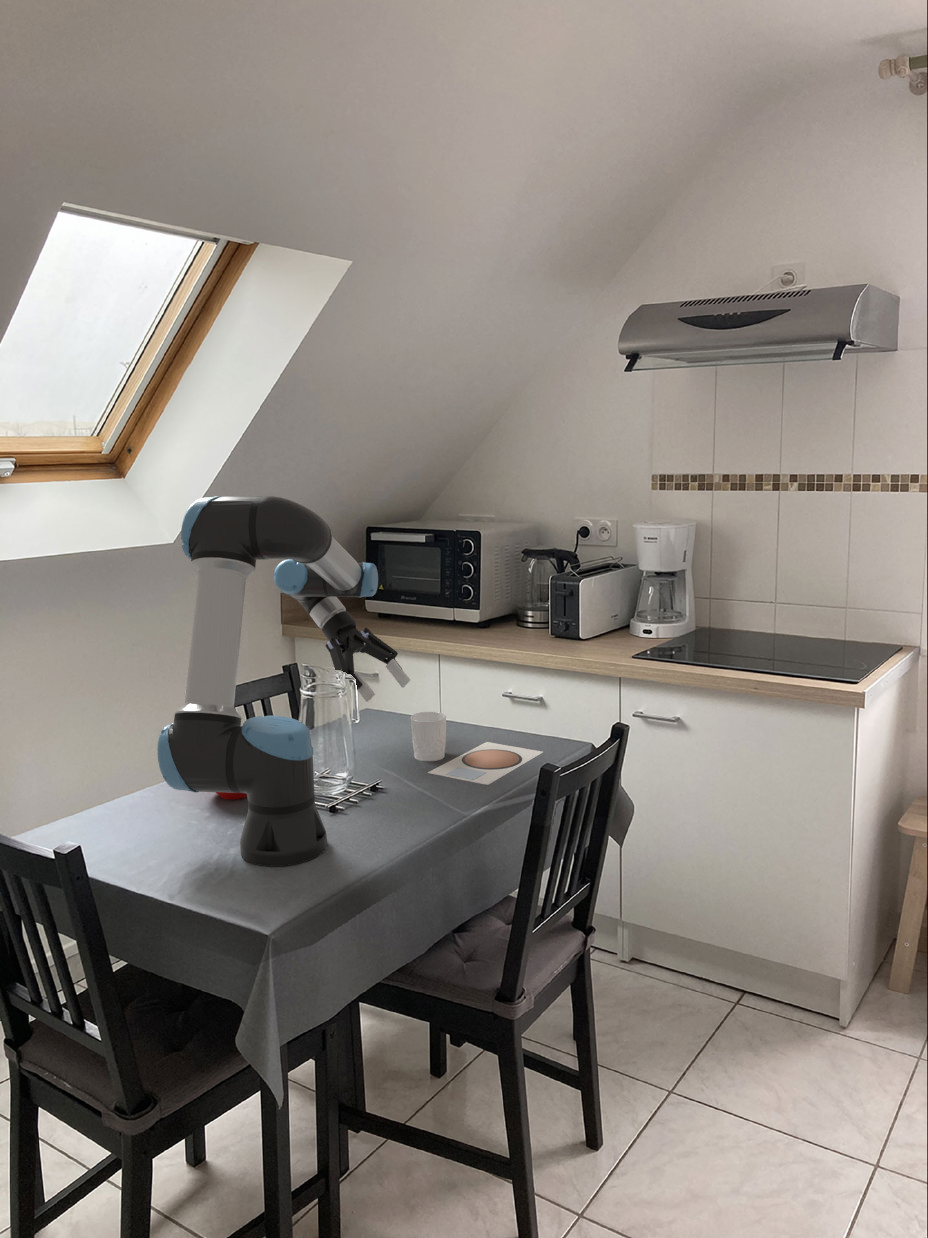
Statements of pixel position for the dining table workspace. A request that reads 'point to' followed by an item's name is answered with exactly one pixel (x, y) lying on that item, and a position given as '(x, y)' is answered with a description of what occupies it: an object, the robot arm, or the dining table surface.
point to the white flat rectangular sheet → (482, 776)
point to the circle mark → (491, 759)
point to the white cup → (428, 735)
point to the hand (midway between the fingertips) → (389, 691)
